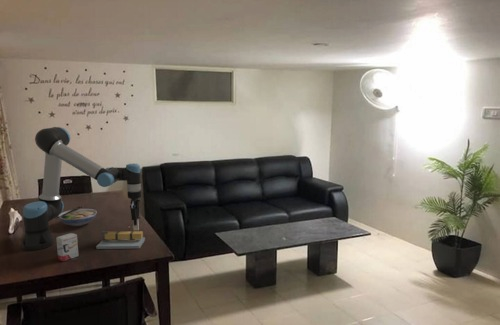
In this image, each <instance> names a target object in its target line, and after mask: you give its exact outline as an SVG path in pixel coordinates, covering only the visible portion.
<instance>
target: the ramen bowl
mask: <svg viewBox="0 0 500 325" xmlns="http://www.w3.org/2000/svg"><path fill="white" fill-rule="evenodd" d="M97 213H98V212H97V209H93V208H83V206H76V207H75V208H73V209H71V210H66V211H62V213H61V214H60V215H59V216H57V217H56V218H54V219H55V220H57V219H59V220H60V221H61V222H62V223H64V224H65V225H67V226H72V227H82V226H84V225H87V224H88V223H89V224H90V222H92V221H93V220H94V219H95V218H96V216H97Z"/></svg>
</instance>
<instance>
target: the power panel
mask: <svg viewBox="0 0 500 325" xmlns="http://www.w3.org/2000/svg"><path fill="white" fill-rule="evenodd" d="M145 241H146V237H145V236H143V237H142V239H108V240H101V241H100V242H99V243H98V244H97V245H96V246H95V247H96V250H120V249H122V250H123V249H124V250H125V249H126V250H129V249H131V250H133V249H135V250H136V249H138V250H139V249H140V248H141V247H142V246H143V244H144V242H145Z"/></svg>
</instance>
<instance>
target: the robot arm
mask: <svg viewBox="0 0 500 325" xmlns="http://www.w3.org/2000/svg"><path fill="white" fill-rule="evenodd" d="M34 137H35V138H34V142H35V144H36V146H37V147H38V148H39V149H40V150H41V151H42V152H44V155H45V157H44V165H43V166H44V169H43V181H42V190H41V191H42V192H41V194H40V195H39V196H38V201H33V202H30V203H27V204H25V205H24V206H23V207H22V218H23V224H24V225H23V227H24V237H23V240H22V244H21V245H22V249H23V250H27V251H38V250H43V249H45V248H49V247H51V246H53V245H54V244H55V243H54V237H53V235H52V233H51V231H50V224H49V222H51V221H52V220H53V219H55V218H57V217H58V216H59V215H60V214H61V213H63V212H64V205H65V204H64V202H63V201H62V196H61V195H60V185H61V172H62V162H65V163H66V164H68V165H70V166H71V167H73V168H75V169H77V170H79V171H80V172H82V173H84V174H85V175H87V176H89V177H90V178H92V179H94V180H96V181H97V184H98V185H99V186H100V187H103V188H107V187H110V186H111V185H113V184H115V183H116V182H119V181H120V182H121V181H122V182H123V181H124V182H125V181H126V188H127V190H126V191H127V198H128V199H130V205H129V208H130V209H129V210H130V215H131V221H132V229H133V230H132V231H139V230H140V227H139V226H140V225H139V223H140V222H139V219H140V218H141V217H140V203H141V202H140V198H142V191H141V190H142V184H141V183H142V181H141V167H140V164H138V163H127V164H126V166H125V167H113V166H111V167H106V168H104V167H102V166H101V165H99V164H98V163H96V162H94V161H93V160H91V159H90V158H88V157H86V156H85V155H83V154H81V153H79V152H78V151H76V150H74V149H73V148H71V147H69V146H68V145H69V143H70V142H71V134H70V133H69V131H67V129H65V128H63V127H61V126H54V127H48V128H43V129H40V130H39V131H37V133H36V134H35V136H34Z"/></svg>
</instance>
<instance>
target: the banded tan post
mask: <svg viewBox="0 0 500 325" xmlns="http://www.w3.org/2000/svg"><path fill="white" fill-rule="evenodd" d="M101 237H102V238H101V239H102V240H108V239H142V237H144V231H142V230H140V231H139V230H131V231H108V230H102V231H101ZM102 240H101V241H102Z"/></svg>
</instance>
